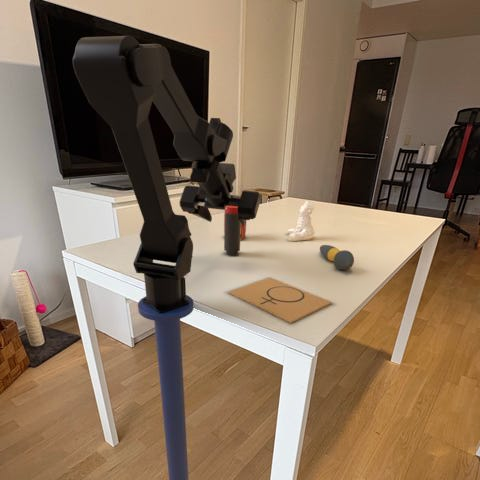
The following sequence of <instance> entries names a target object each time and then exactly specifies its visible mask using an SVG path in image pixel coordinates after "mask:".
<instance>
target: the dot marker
mask: <svg viewBox="0 0 480 480" xmlns="http://www.w3.org/2000/svg"><path fill="white" fill-rule="evenodd" d="M238 217H239V216H238V207H237V206H226V212H225V230H224V229H223V233H224V234H223V235H224V236H223V239H224V240H223V241H224V242H223V251H225V254H226V256H228V257H229V256H230V257H235V256H237V255H238V253H239V252H240V251H241V239H240V233H241V222H240V220H239V219H238Z"/></svg>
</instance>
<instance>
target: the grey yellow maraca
mask: <svg viewBox="0 0 480 480" xmlns="http://www.w3.org/2000/svg"><path fill="white" fill-rule="evenodd" d="M319 251H320V253H321V255H322V256H323V257H324V258H325V259H327V260H329V261H330V262H333V265H334V267H335V268H336V269H337V270H340V271H347V270H349V269H351V268H352V267H353V265H354V263H355V258H354V255H353V253H352V252H351V251H349V250H346V249H345V250H343V249H342V250H340V249H339V248H338V247H335V246H333V245H329V244H322V245H320V246H319Z"/></svg>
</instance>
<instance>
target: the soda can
mask: <svg viewBox="0 0 480 480" xmlns="http://www.w3.org/2000/svg"><path fill="white" fill-rule="evenodd" d="M223 211H224V213H223V226H224V227H223V231H224V230H225V212H226V208H225V210H223ZM246 233H247V222H246V223H245V226H243V225H242V224H241V233H240V240H243V238H246Z"/></svg>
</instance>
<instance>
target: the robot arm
mask: <svg viewBox="0 0 480 480" xmlns="http://www.w3.org/2000/svg"><path fill="white" fill-rule="evenodd" d="M74 50H75V51H74V54H73V57H72V66H73V70H74V73H75V76H76V78H77V80H78V83H79V85H80V87H81V89H82V91H83V93H84V95H85V97H86V99H87V101H88V103H89V105H90V106H91V107H92V108H93V109H94V111H96V113H97V114H98V115H99V116H100V117H101V118H102V119H103V120H104V121H105V122H106V123H107V124H108V126H110V128H111V130H112V133H113V136H114V139H115V142H116V144H117V148H118V151H119V153H120V156H121V159H122V161H123V164H124V168H125V170H126V173H127V177H128V179H129V182H130V184H131V188H132V190H133V194H134V196H135V199H136V202H137V205H138V208H139V211H140V213H141V216H142V219H143V222H142V227H141V229H140V232H139V239H140V244H139V246H138V250H137V253H136V255H135V257H134V261H133V263H132V264H133V268H134V270H135V273H136V274H143V277H144V279H143V280H144V287H145V296H146V298H145V299H143V303H145V304H146V305H148V306H149V307H151V308H152V309H154V310H155V311H157V312H158V313H165V312H168V311H171V310H174V309H177V308H180V307H183V306H186V305H188V304H189V301H188V300H186V299H184V298H186V295H187V285H186V277H185V276H187V275H188V274H190V272H191V270H192V261H193V253H194V242H193V239H192V237H191V236H192V232H191V231H190V227H189V220H188V218H187V217H186V215H182V214H176V213H175V211H174V209H173V206H172V203H171V197H170V196H169V191H168V187H167V184H166V180H165V176H164V172H163V169H162V165H161V160H160V158H159V154H158V150H157V145H156V142H155V138H154V136H153V132H152V127H151V123H150V119H149V115H150V112H151V107H152V105H153V104H154V105H155V107H156V109H157V111H158V112H159V113H160V115H161V116H162V118H163V120H164V121H165V122H166V124H167V125H168V127H169V129H170V130H171V132H172V134H173V136H174V137H173V141H172V144H173V147H174V149H175V151H176V152H177V155H178V157H179V158H180V159H181V160H182V161H184V162H185V161H186V162H192V164H191V173H190V176H189V182H190V183H197V184H198V185H185V186H184V188H183V190H182V193H181V196H180V199H179V201H178V202H179V206H180V209H181V211H182V212H184V213H188V214H189V215H193V216H196V217H198V218H201V219H202V220H205V221H207V222H210V223H211V222H212V220H213V217H212V213H211V211H210V209H211V210H223V211H224V210H225V208H226V206H237V207H238V216H239V217H238V219H239V220H240V222H241V224H242V225H243V226H245V223H246V224H247V221H250V220H255V218H256V217H257V215H258V211H259V207H260V203H261V199H262V197H261V193H260V192H259V191H257V190H256V191H255V190H245V189H244V190H242V191H241V194H240V195H233V194H231V193H233V191H234V185H233V184H234V182H235V180H236V179H237V174H236V173H237V171H236V166H235V164H234V163H228V162H227V163H225V162H226V160H227V157H228V154H229V151H230V148H231V144H232V142H233V137H234V132H233V130H232V129H231V128H230V127H229V126H228V125H227V124H226V123H223V122H222V121H221V120H222V119H221V118H220V117H210V119H209V121H207V120H205V119H204V118H203V117H200V116H199V115H198V114H197V112H196V111H195V109H194V107H193V105H192V103H191V101H190V99H189V97H188V95H187V93H186V91H185V89H184V87H183V86H182V83H181V81H180V79H179V78H178V76H177V74H176V72H175V70H174V68H173V66H172V60H171V55H170V52H169V50H168V49H167V47H166V46H164V45H161V44H159V43H142V44H141V43H140V42H139V41H138V40H137V39H136V38H135V37H133V36H132V35H114V36H113V35H112V36H86V37H81V38H79V40H77V43H76V46H75V49H74ZM154 261H159V262H164V263H159V262H154ZM166 263H171V264H173V265H171V264H166Z"/></svg>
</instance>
